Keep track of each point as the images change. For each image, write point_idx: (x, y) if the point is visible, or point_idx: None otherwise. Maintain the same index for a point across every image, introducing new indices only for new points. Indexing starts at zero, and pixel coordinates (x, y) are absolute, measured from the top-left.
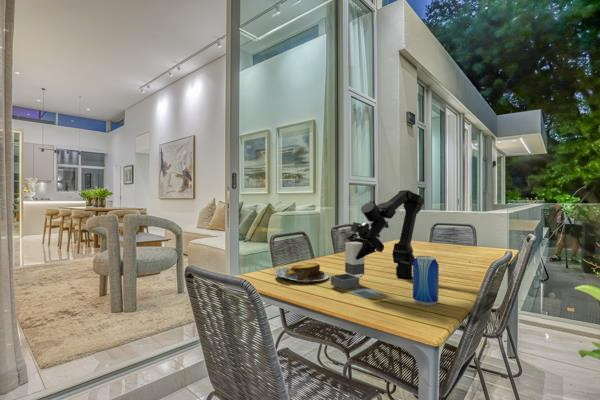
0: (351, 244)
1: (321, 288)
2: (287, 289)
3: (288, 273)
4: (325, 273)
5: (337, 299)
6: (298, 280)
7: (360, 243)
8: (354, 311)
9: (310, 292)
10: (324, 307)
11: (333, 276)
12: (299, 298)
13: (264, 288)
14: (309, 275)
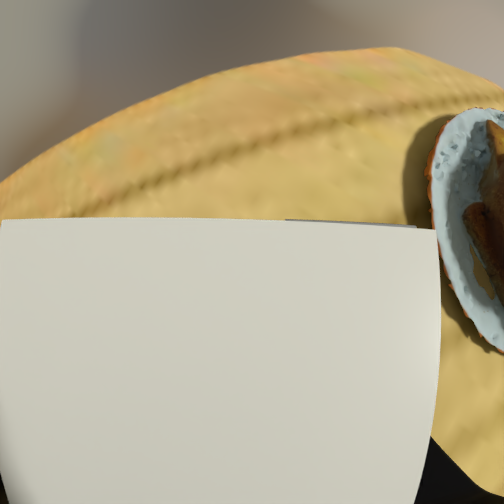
0: (68, 224)
1: (359, 208)
2: (389, 93)
3: (499, 132)
4: (415, 226)
5: (180, 183)
6: (438, 136)
7: (28, 495)
8: (66, 175)
9: (322, 136)
10: (146, 109)
11: (321, 221)
12: (270, 78)
13: (414, 57)
14: (488, 212)
